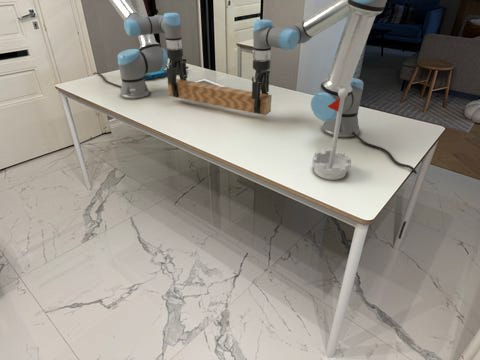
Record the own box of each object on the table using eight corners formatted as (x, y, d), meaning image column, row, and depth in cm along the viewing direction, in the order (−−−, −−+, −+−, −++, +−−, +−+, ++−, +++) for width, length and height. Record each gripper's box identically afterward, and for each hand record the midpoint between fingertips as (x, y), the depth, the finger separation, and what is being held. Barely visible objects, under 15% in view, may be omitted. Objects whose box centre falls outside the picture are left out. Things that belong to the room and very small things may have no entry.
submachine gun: (173, 60, 241) (193, 66, 225) (174, 66, 243) (193, 71, 227) (128, 69, 223) (145, 75, 206) (129, 75, 225) (146, 82, 208)
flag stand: (334, 159, 128) (348, 80, 112) (356, 176, 118) (375, 92, 101) (304, 166, 124) (314, 84, 108) (324, 184, 114) (338, 97, 97)
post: (270, 111, 159) (271, 95, 154) (265, 115, 155) (266, 98, 150) (175, 93, 181) (174, 78, 177) (169, 96, 177) (167, 80, 173)
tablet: (177, 86, 203) (177, 85, 202) (205, 79, 214) (205, 78, 213) (209, 100, 182) (209, 99, 182) (238, 91, 193) (238, 91, 193)
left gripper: (180, 44, 173) (184, 88, 186) (156, 51, 159) (162, 99, 172) (192, 45, 170) (195, 91, 183) (168, 53, 156) (174, 101, 169)
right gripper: (263, 54, 154) (261, 103, 167) (243, 63, 140) (243, 115, 153) (278, 55, 151) (275, 105, 164) (260, 65, 137) (258, 119, 150)
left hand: (179, 94), depth 177 cm, fingers closed on post, 5 cm apart
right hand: (259, 110), depth 158 cm, fingers closed on post, 5 cm apart
